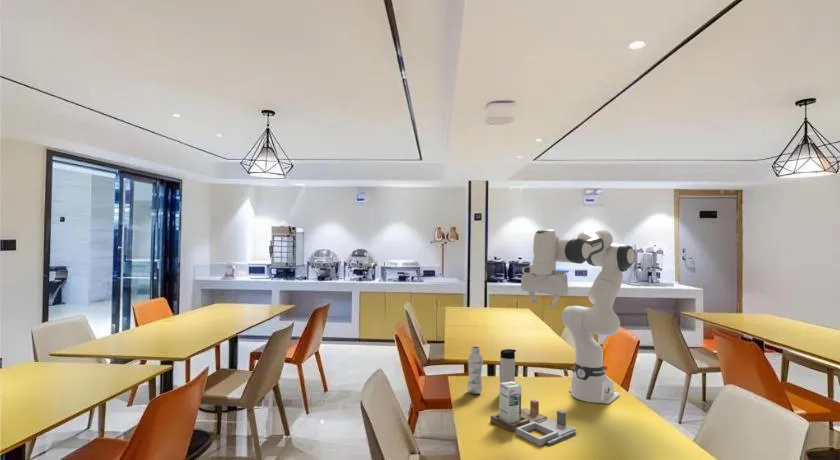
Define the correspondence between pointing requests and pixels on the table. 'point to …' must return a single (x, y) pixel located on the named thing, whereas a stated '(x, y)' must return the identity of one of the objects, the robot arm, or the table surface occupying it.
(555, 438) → the lane rails
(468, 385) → the plastic bottle
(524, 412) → the brown flat tabbed frame
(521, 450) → the table surface
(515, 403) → the syrup box
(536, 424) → the grey sliding lid frame
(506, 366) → the travel mug
